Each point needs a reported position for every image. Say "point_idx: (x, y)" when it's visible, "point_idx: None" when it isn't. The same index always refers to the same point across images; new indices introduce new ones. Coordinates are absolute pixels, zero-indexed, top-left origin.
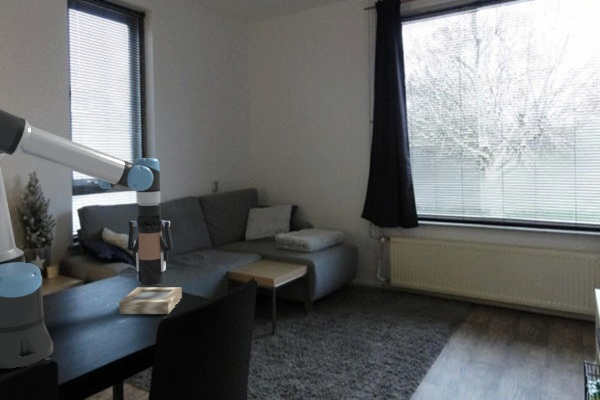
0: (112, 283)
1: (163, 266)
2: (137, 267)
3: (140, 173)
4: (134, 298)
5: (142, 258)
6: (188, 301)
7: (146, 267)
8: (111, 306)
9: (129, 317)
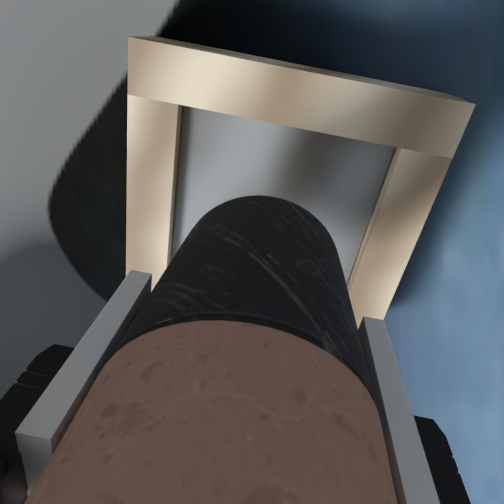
0: (474, 499)
1: (111, 302)
2: (383, 346)
3: None
4: (371, 204)
5: (328, 365)
6: (102, 227)
7: (276, 269)
8: (490, 228)
9: (385, 9)
